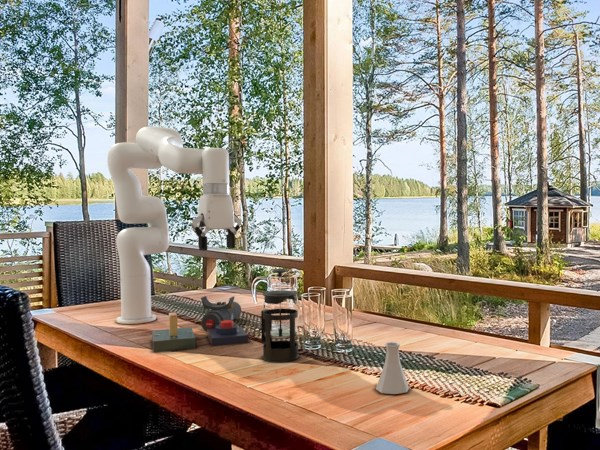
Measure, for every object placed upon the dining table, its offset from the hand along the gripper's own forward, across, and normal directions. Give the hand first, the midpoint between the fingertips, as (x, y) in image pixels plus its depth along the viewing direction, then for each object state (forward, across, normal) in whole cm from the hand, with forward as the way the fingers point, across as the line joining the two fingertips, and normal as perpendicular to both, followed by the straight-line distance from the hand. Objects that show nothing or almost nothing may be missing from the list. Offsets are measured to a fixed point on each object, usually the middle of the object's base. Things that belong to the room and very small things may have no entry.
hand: (217, 248), depth 167 cm
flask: (+27, +4, +67) cm, 72 cm away
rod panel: (+27, +12, -4) cm, 30 cm away
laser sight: (+27, -11, -13) cm, 32 cm away
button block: (+27, -1, +3) cm, 27 cm away
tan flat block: (+24, +12, -4) cm, 27 cm away
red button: (+23, -1, +3) cm, 23 cm away
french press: (+27, +2, +29) cm, 39 cm away
